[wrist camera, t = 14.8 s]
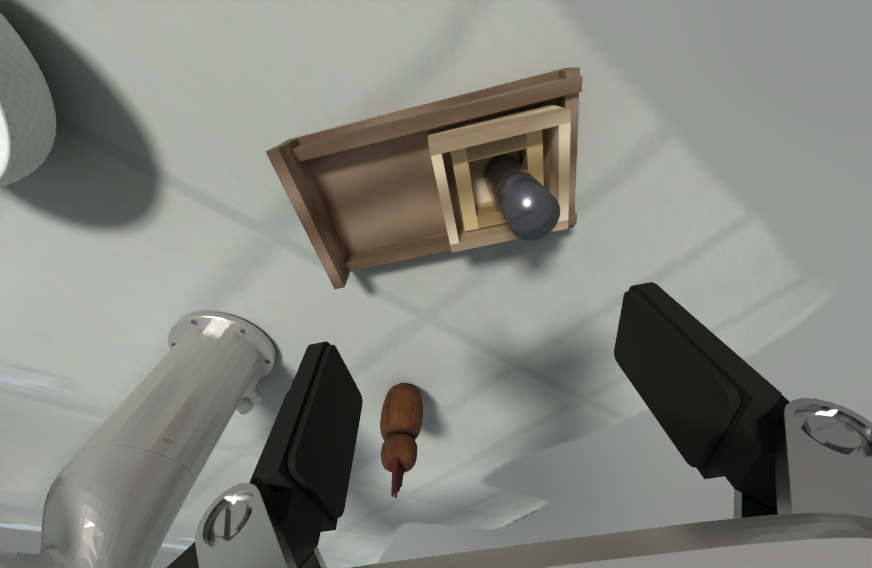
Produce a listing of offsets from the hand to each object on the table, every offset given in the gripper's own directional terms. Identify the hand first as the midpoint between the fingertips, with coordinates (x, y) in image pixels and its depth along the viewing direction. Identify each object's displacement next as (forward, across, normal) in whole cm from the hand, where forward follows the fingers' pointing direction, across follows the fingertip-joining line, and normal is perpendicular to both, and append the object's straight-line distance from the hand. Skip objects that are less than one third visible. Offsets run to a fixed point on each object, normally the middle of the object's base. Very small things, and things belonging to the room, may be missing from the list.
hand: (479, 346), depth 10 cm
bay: (+23, 0, +1) cm, 23 cm away
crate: (+22, -5, +1) cm, 22 cm away
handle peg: (+21, -5, +1) cm, 21 cm away
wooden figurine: (+24, +12, +31) cm, 41 cm away
